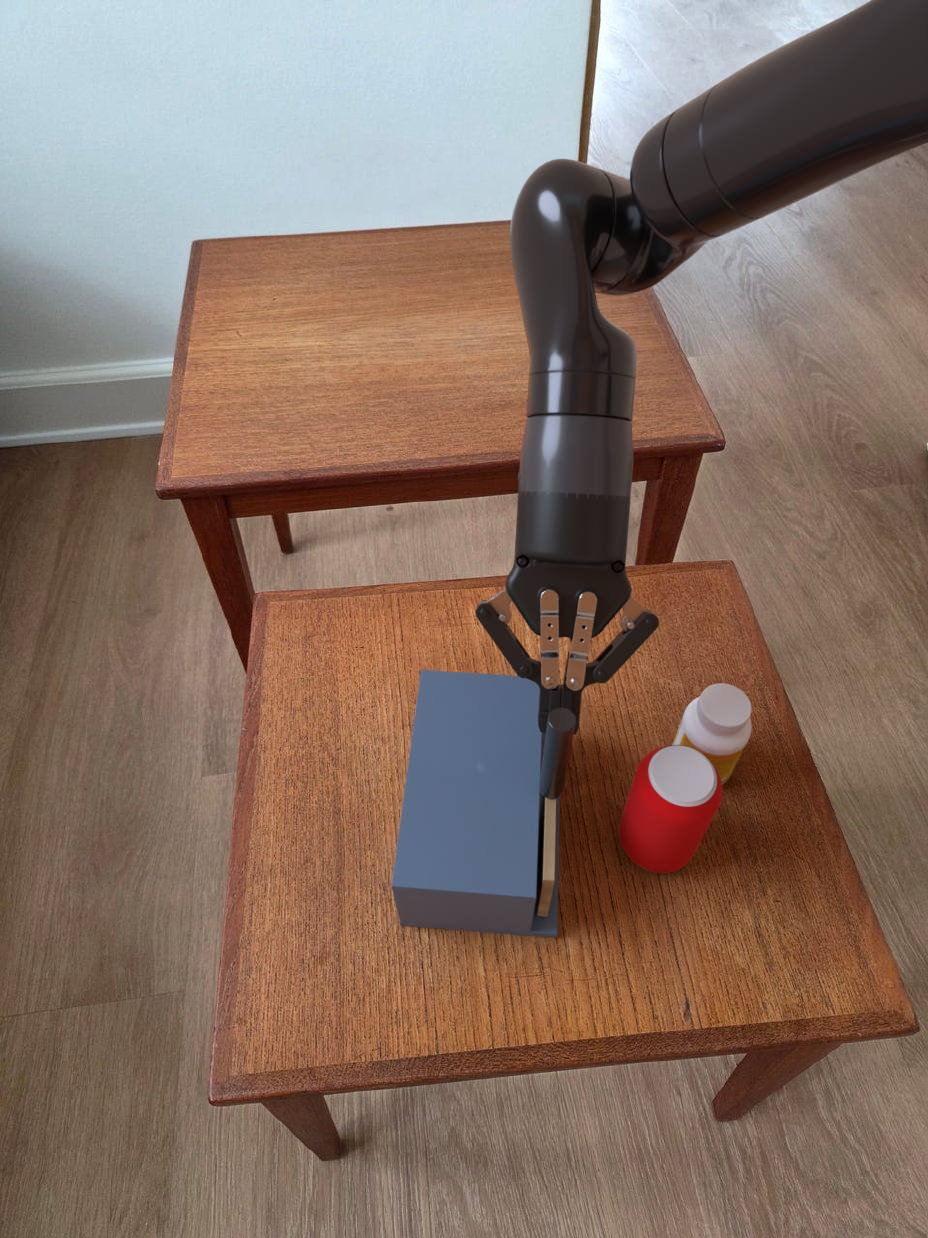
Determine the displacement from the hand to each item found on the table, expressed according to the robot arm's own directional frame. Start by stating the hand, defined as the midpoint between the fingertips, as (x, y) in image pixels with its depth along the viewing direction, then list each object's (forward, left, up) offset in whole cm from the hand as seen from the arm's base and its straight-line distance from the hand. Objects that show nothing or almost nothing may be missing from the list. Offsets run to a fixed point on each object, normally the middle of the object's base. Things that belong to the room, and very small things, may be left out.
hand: (557, 738), depth 60 cm
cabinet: (+3, +5, -14) cm, 15 cm away
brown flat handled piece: (-3, +3, -12) cm, 13 cm away
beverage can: (-7, -6, -14) cm, 17 cm away
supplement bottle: (-4, -14, -14) cm, 20 cm away
